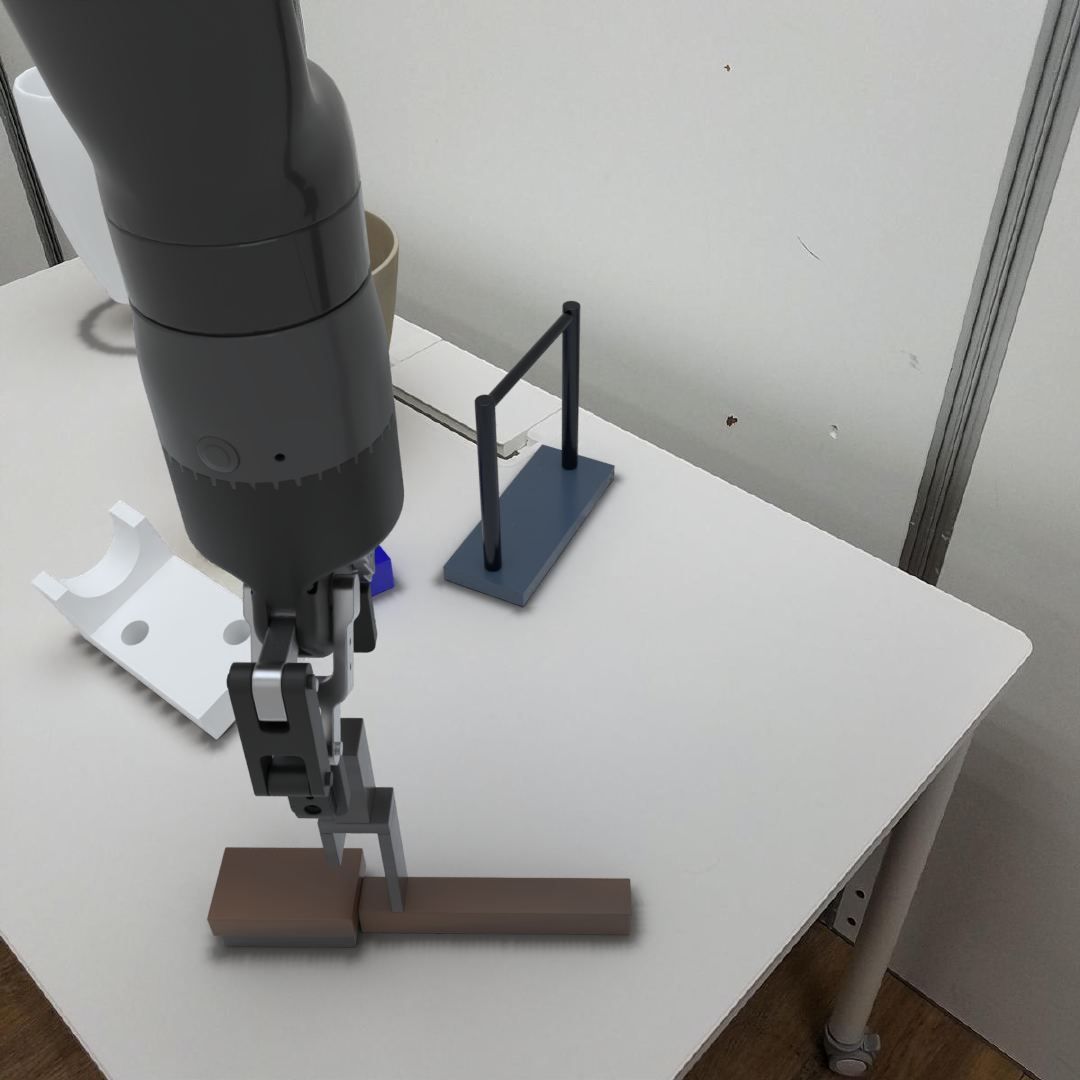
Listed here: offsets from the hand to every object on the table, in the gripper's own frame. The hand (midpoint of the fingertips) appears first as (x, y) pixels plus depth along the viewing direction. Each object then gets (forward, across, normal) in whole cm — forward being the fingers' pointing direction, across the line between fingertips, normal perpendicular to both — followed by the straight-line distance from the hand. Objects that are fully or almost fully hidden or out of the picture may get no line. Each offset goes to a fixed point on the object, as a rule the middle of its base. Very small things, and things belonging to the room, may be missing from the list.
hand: (338, 721), depth 47 cm
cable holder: (+16, +26, +5) cm, 31 cm away
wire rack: (+15, +30, -8) cm, 35 cm away
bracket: (+16, +17, +14) cm, 27 cm away
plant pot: (+16, +41, +9) cm, 45 cm away
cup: (+16, +58, +28) cm, 66 cm away
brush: (+15, 0, -3) cm, 16 cm away
